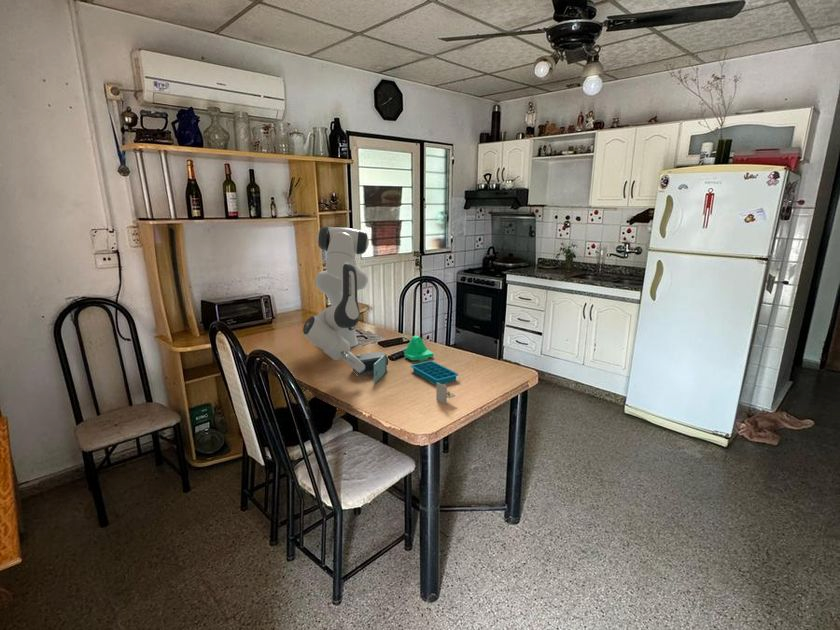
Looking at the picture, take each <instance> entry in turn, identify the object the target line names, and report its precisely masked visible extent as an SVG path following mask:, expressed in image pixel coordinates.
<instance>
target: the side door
mask: <svg viewBox="0 0 840 630" xmlns="http://www.w3.org/2000/svg"><path fill="white" fill-rule="evenodd" d="M383 354H384V355H383V356H382V357H381V358H380V359H379V360H378V361H377V362H375V363H374V374H373V383H374V384H376V383H377V382H378V381H380V379H381V378H382V377H383V376H384V375H385V374H387V371H386V356H387V354H386V353H383Z"/></svg>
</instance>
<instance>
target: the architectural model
mask: <svg viewBox="0 0 840 630" xmlns="http://www.w3.org/2000/svg"><path fill="white" fill-rule="evenodd" d="M446 385H447V383H445V384H440V383H438V382H437V385H436V392H435V393H436V396H435V397H436V398H435V399H436V401H438V402H440V403H441V404H443V405H447V403H448V401H447V398H448V399H451V398H452V399H453V398H455V397H456V396H457V395H456V394H453V393H451V392H450V390H448V387H447V386H446Z"/></svg>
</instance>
